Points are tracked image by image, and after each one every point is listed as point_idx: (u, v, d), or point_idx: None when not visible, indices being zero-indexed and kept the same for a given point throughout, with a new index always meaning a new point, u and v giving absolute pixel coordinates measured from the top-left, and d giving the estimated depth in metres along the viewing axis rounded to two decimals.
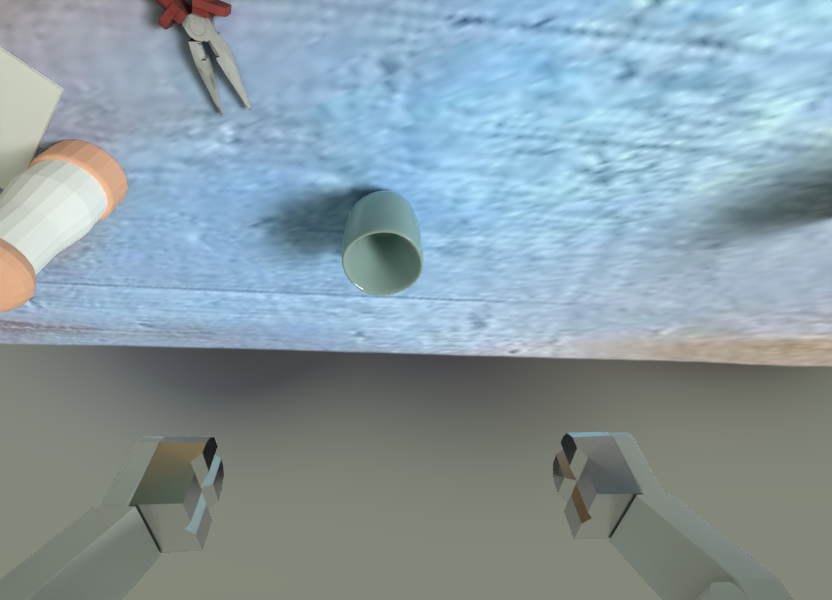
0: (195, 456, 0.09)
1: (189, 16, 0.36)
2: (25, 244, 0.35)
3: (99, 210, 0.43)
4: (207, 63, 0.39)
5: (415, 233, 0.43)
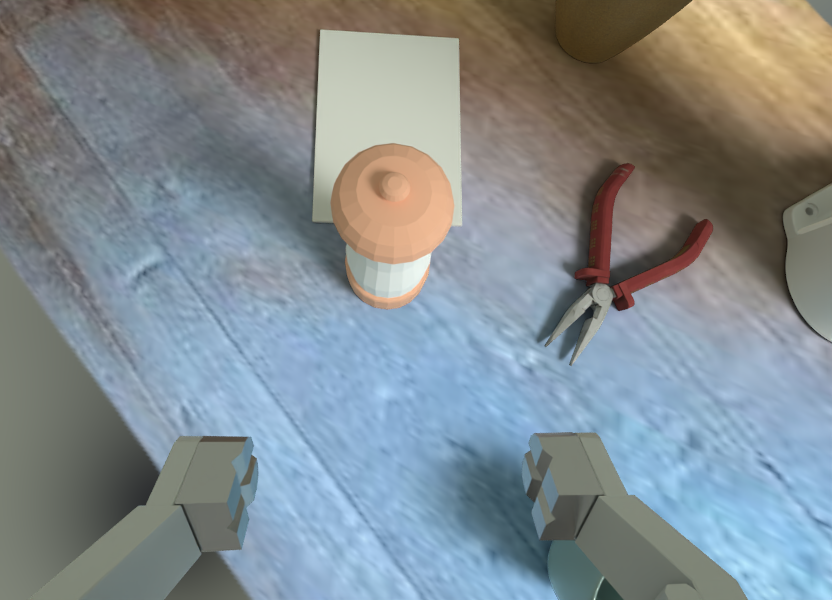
0: (235, 455, 0.09)
1: (605, 285, 0.42)
2: None
3: (402, 292, 0.36)
4: (581, 314, 0.41)
5: None
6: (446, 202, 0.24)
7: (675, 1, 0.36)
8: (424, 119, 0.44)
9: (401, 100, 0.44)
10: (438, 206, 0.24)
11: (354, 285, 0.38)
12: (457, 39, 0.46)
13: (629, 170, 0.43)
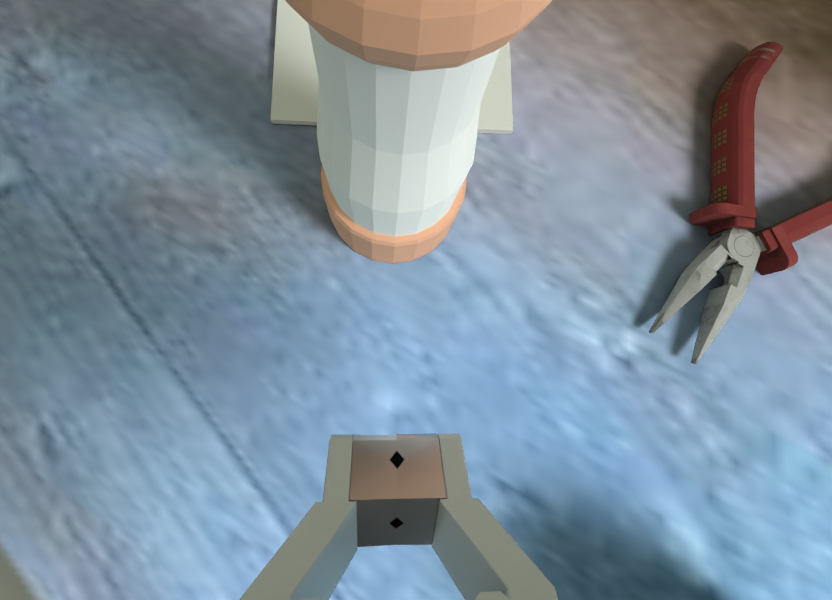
0: (391, 454, 0.10)
1: (748, 232, 0.25)
2: None
3: (422, 221, 0.20)
4: (709, 279, 0.25)
5: None
6: None
7: None
8: None
9: None
10: None
11: (336, 214, 0.22)
12: None
13: (776, 50, 0.27)
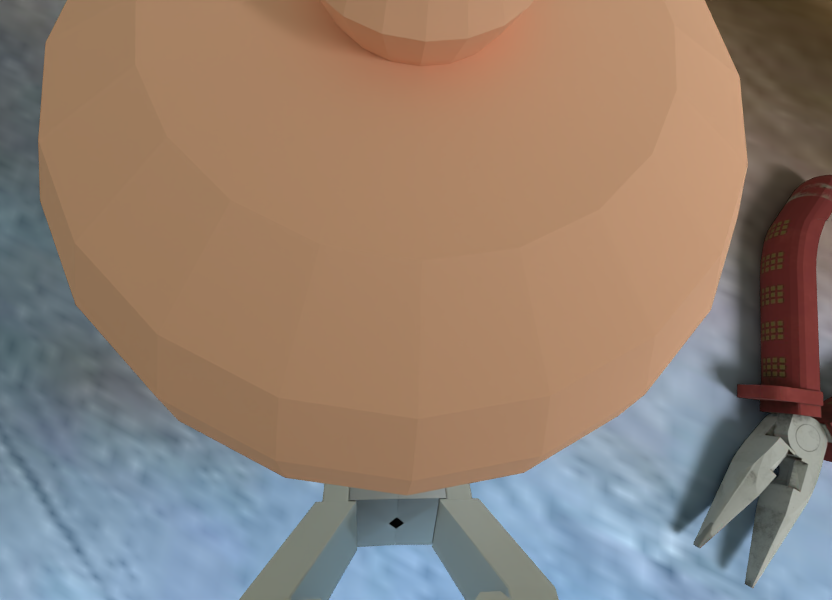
0: None
1: (812, 420, 0.21)
2: None
3: None
4: (766, 479, 0.21)
5: None
6: (742, 111, 0.04)
7: None
8: None
9: None
10: (715, 125, 0.04)
11: None
12: None
13: None
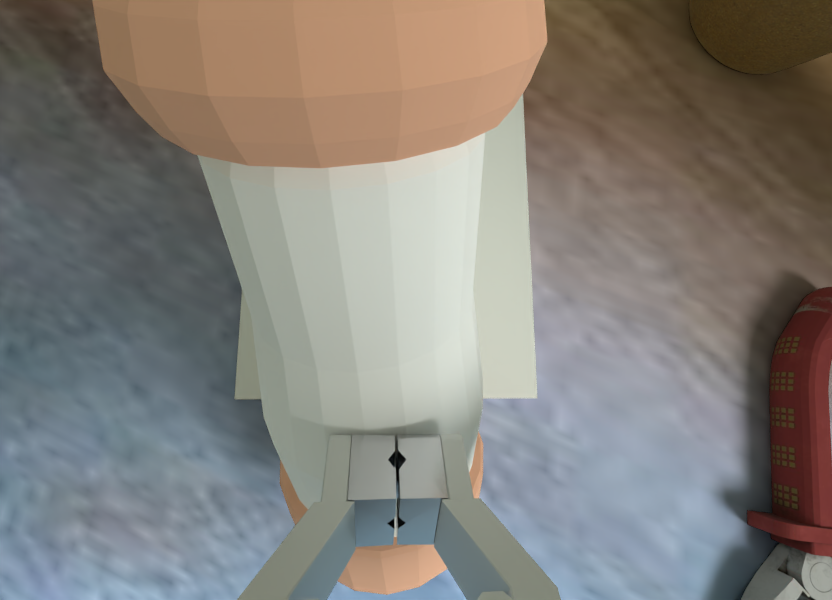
0: (390, 454, 0.10)
1: (826, 557, 0.20)
2: (474, 182, 0.08)
3: None
4: None
5: None
6: None
7: None
8: None
9: None
10: None
11: (293, 509, 0.14)
12: None
13: None
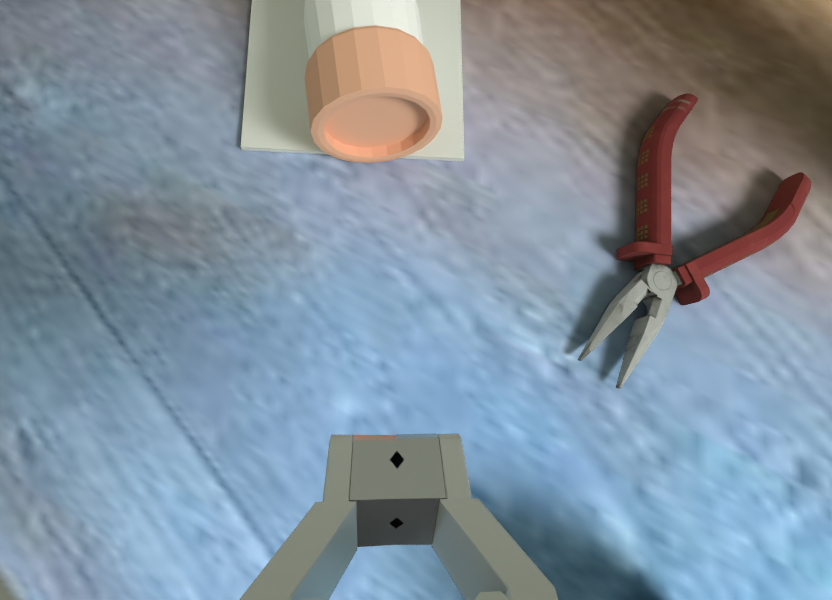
0: (391, 453, 0.10)
1: (666, 268, 0.28)
2: None
3: (408, 12, 0.24)
4: (631, 310, 0.28)
5: None
6: None
7: None
8: None
9: None
10: None
11: (334, 34, 0.22)
12: None
13: (691, 102, 0.30)
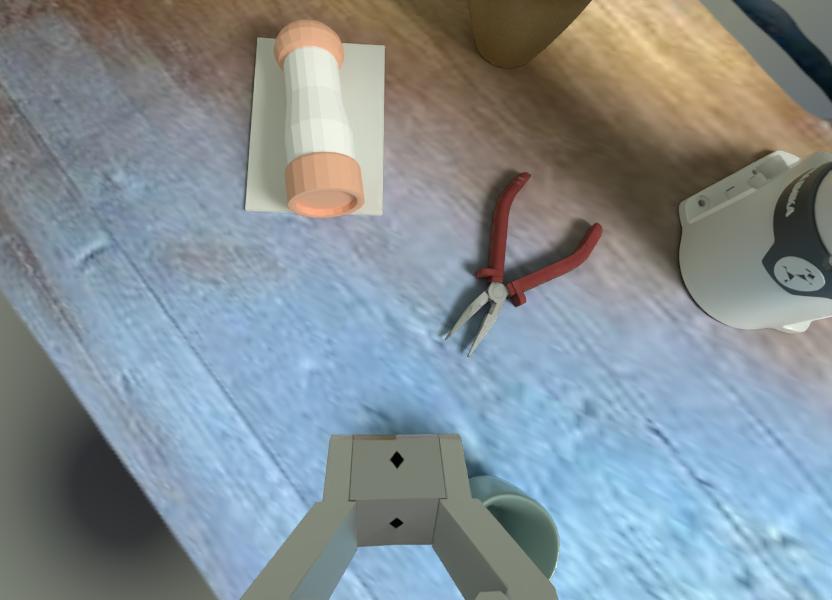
0: (391, 453, 0.10)
1: (500, 284, 0.46)
2: (338, 71, 0.46)
3: (345, 140, 0.42)
4: None
5: None
6: None
7: (558, 14, 0.41)
8: (350, 119, 0.49)
9: None
10: None
11: (302, 155, 0.40)
12: (383, 46, 0.51)
13: (525, 179, 0.48)
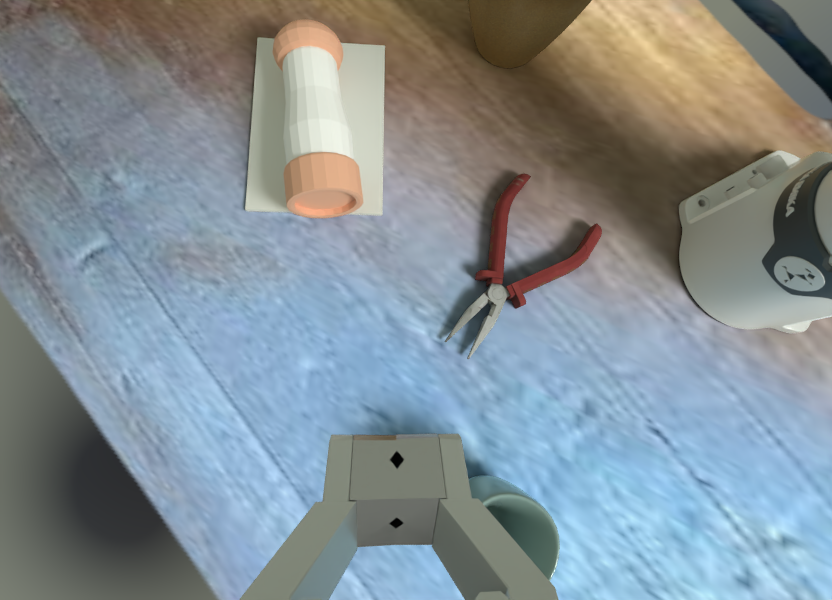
0: (391, 453, 0.10)
1: (500, 286, 0.46)
2: (337, 70, 0.46)
3: (343, 139, 0.42)
4: (477, 312, 0.45)
5: None
6: None
7: (558, 14, 0.41)
8: (350, 118, 0.49)
9: None
10: None
11: (300, 156, 0.40)
12: (383, 46, 0.51)
13: (524, 180, 0.48)
